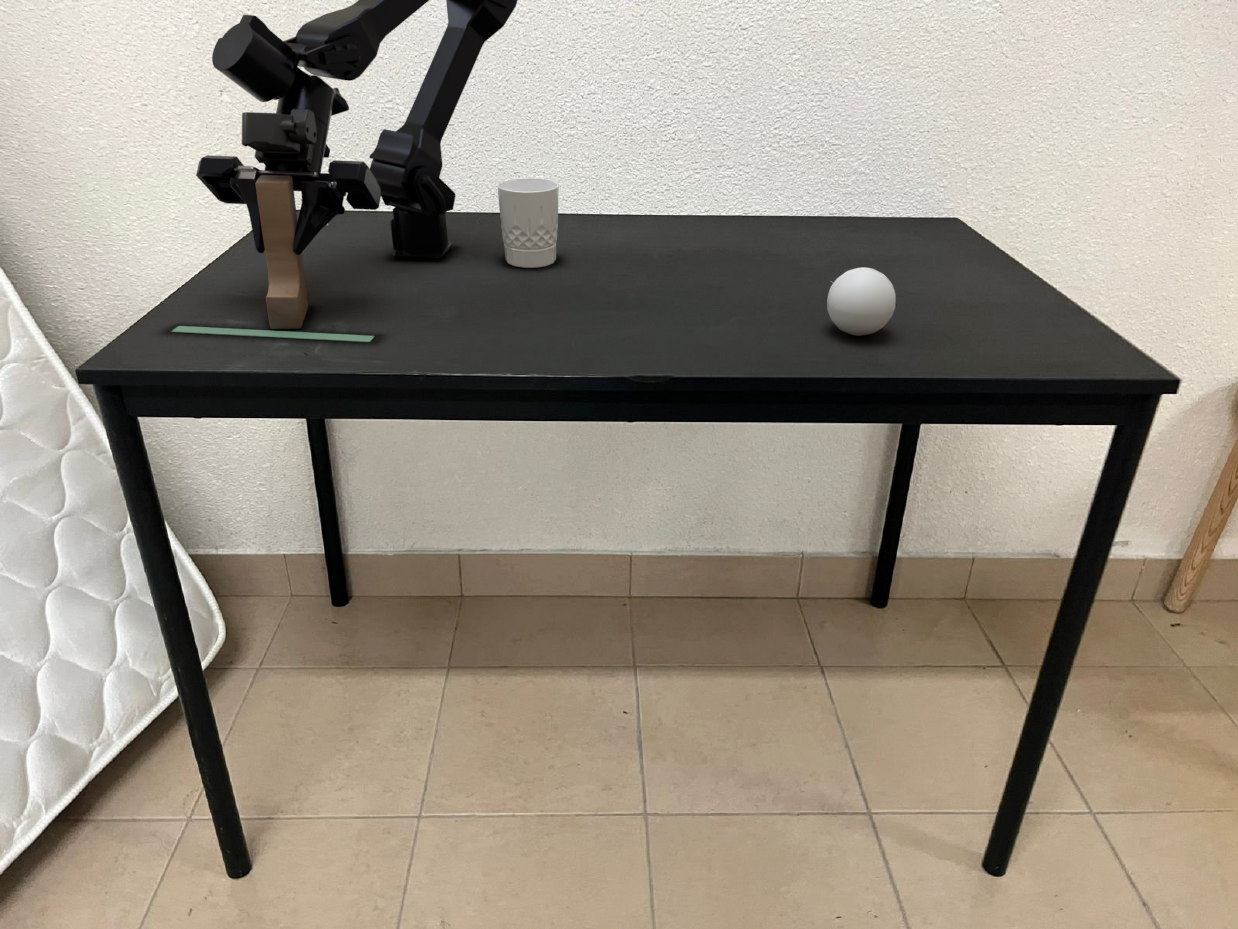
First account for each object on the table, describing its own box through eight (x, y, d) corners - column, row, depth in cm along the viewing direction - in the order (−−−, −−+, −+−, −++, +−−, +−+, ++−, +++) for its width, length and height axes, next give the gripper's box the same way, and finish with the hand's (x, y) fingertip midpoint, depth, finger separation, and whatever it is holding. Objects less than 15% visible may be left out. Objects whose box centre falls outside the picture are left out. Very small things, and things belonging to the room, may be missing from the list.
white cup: (490, 265, 118) (485, 187, 113) (518, 248, 124) (515, 174, 119) (544, 273, 115) (542, 194, 110) (569, 255, 121) (568, 180, 116)
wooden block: (278, 308, 103) (259, 174, 95) (308, 307, 103) (292, 175, 96) (269, 329, 97) (249, 189, 90) (301, 329, 98) (283, 190, 90)
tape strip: (374, 336, 96) (374, 335, 96) (369, 342, 95) (369, 341, 95) (179, 326, 98) (178, 325, 98) (171, 332, 96) (171, 331, 96)
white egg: (901, 344, 97) (914, 278, 93) (836, 347, 96) (846, 281, 92) (865, 311, 105) (876, 249, 101) (805, 313, 104) (813, 252, 100)
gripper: (184, 75, 93) (153, 209, 89) (358, 81, 92) (334, 217, 88) (234, 139, 104) (208, 261, 100) (390, 145, 103) (370, 269, 99)
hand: (277, 252), depth 96 cm, fingers closed on wooden block, 4 cm apart
